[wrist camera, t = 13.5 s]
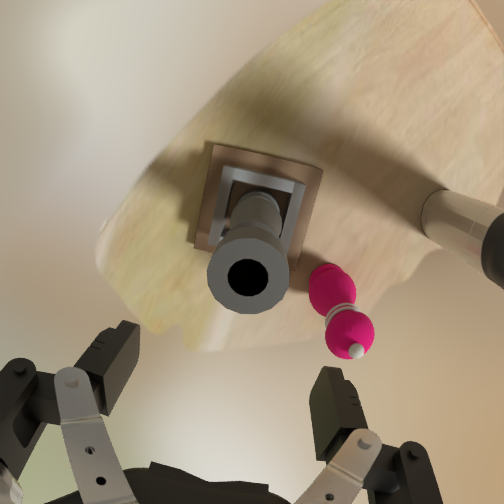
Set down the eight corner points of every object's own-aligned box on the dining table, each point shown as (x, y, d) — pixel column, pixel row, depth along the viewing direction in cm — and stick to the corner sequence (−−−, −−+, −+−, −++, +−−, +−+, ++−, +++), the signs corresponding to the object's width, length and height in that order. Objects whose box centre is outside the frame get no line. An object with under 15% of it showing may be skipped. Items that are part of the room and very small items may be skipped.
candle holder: (282, 225, 45) (300, 309, 21) (241, 233, 46) (215, 323, 22) (274, 184, 43) (284, 225, 20) (232, 192, 44) (192, 244, 20)
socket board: (321, 169, 44) (328, 171, 38) (294, 267, 49) (297, 282, 44) (215, 144, 43) (209, 143, 38) (195, 245, 48) (187, 256, 43)
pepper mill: (308, 258, 48) (333, 327, 29) (352, 262, 48) (396, 328, 29) (302, 299, 50) (319, 380, 32) (344, 301, 50) (378, 379, 31)
